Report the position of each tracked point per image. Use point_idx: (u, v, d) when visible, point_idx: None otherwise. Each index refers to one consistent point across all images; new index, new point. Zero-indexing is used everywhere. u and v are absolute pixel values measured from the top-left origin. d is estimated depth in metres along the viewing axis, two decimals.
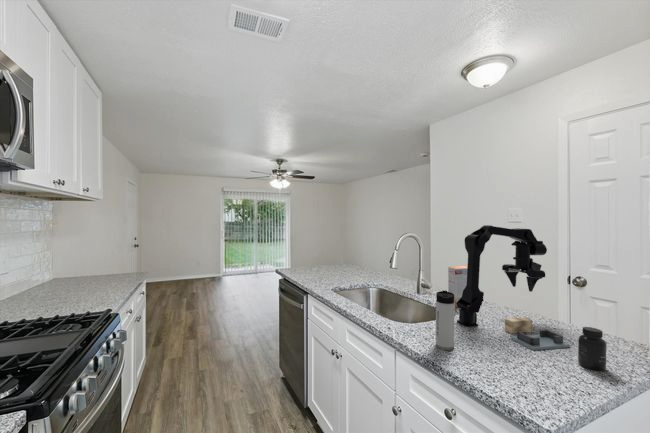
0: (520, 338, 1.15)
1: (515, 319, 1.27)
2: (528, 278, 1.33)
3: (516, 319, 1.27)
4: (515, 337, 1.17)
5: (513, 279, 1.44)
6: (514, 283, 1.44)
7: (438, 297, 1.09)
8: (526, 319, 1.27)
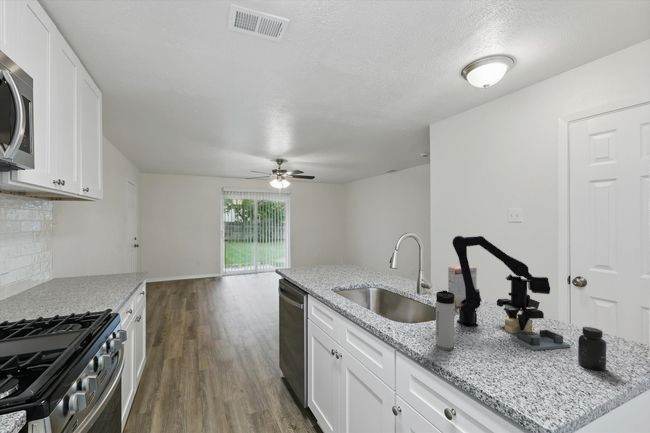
0: (520, 338, 1.15)
1: (515, 319, 1.27)
2: (519, 316, 1.23)
3: (516, 319, 1.27)
4: (515, 337, 1.17)
5: None
6: None
7: (438, 297, 1.09)
8: None
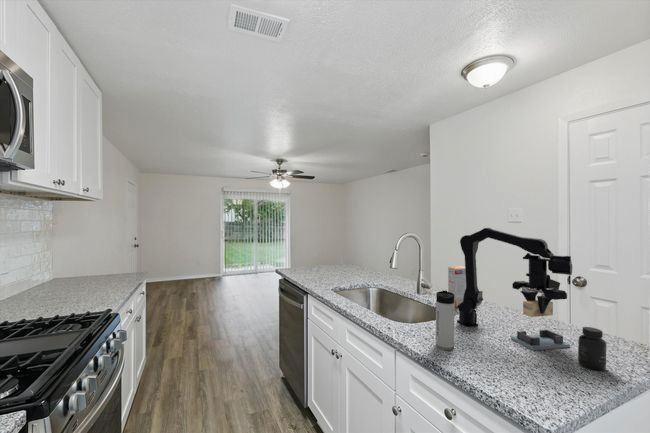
0: (520, 338, 1.15)
1: (534, 301, 1.16)
2: (539, 298, 1.12)
3: (535, 301, 1.16)
4: (515, 337, 1.17)
5: None
6: None
7: (438, 297, 1.09)
8: None
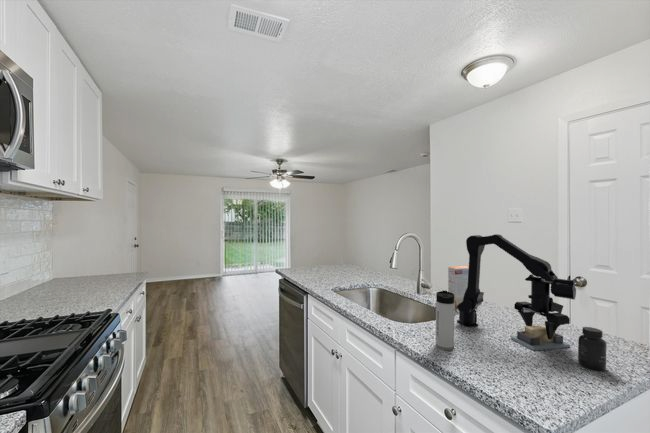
0: (520, 338, 1.15)
1: (536, 327, 1.14)
2: (547, 324, 1.08)
3: (537, 327, 1.14)
4: (515, 337, 1.17)
5: (529, 321, 1.19)
6: None
7: (438, 297, 1.09)
8: None
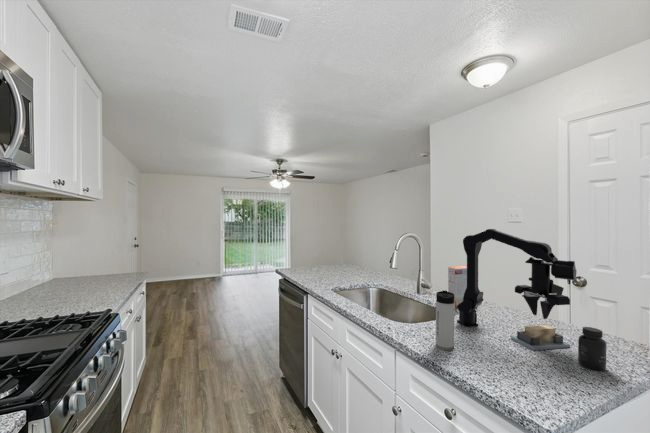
0: (520, 338, 1.15)
1: (536, 327, 1.14)
2: (542, 303, 1.10)
3: (537, 327, 1.14)
4: (515, 337, 1.17)
5: (534, 306, 1.17)
6: (535, 310, 1.16)
7: (438, 297, 1.09)
8: (548, 327, 1.15)
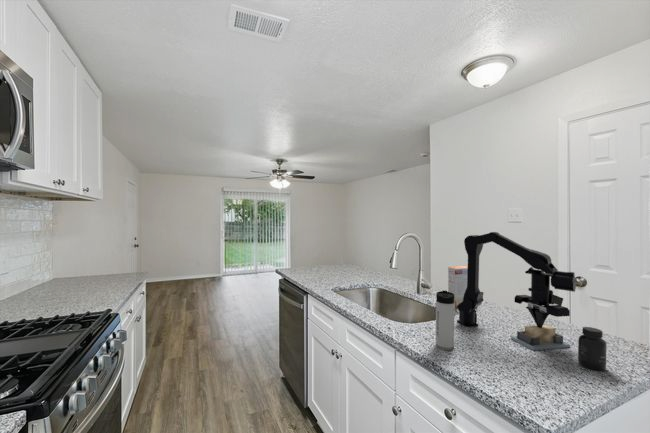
0: (520, 338, 1.15)
1: (536, 327, 1.14)
2: (537, 312, 1.12)
3: (537, 327, 1.14)
4: (515, 337, 1.17)
5: None
6: None
7: (438, 297, 1.09)
8: (548, 327, 1.15)
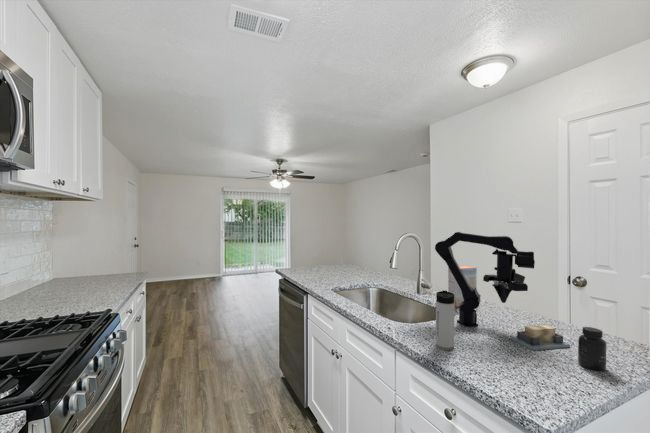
0: (520, 338, 1.15)
1: (536, 327, 1.14)
2: (501, 289, 1.25)
3: (537, 327, 1.14)
4: (515, 337, 1.17)
5: None
6: None
7: (438, 297, 1.09)
8: (548, 327, 1.15)
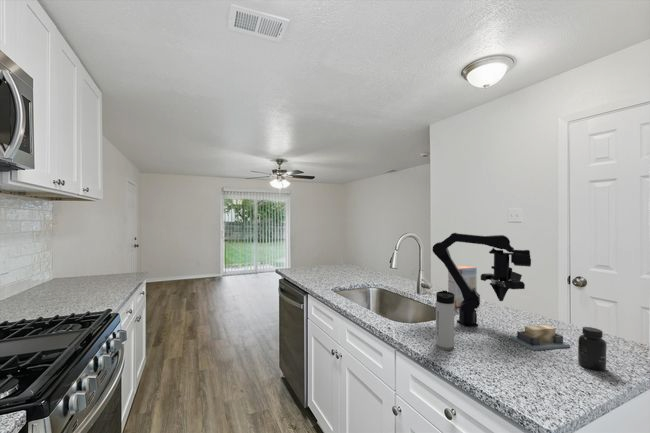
0: (520, 338, 1.15)
1: (536, 327, 1.14)
2: (498, 287, 1.26)
3: (537, 327, 1.14)
4: (515, 337, 1.17)
5: None
6: None
7: (438, 297, 1.09)
8: (548, 327, 1.15)
